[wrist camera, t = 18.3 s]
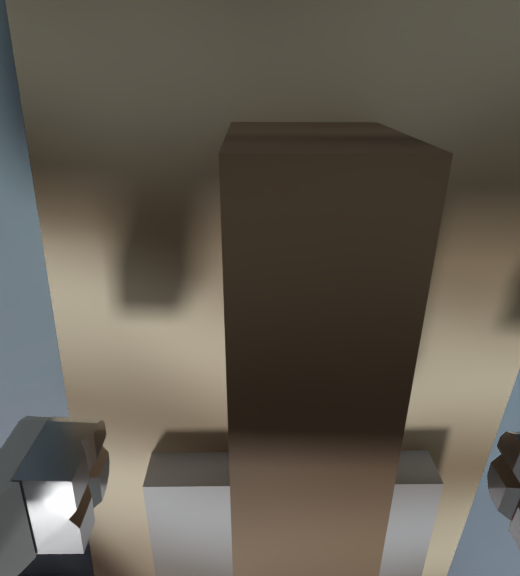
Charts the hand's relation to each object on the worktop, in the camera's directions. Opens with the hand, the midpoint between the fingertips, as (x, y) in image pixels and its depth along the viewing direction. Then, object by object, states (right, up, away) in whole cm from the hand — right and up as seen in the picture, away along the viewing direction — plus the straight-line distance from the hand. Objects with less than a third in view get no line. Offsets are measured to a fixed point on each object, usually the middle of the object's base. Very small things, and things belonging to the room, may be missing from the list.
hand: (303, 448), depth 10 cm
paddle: (0, -1, +4) cm, 4 cm away
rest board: (0, -1, +4) cm, 4 cm away
